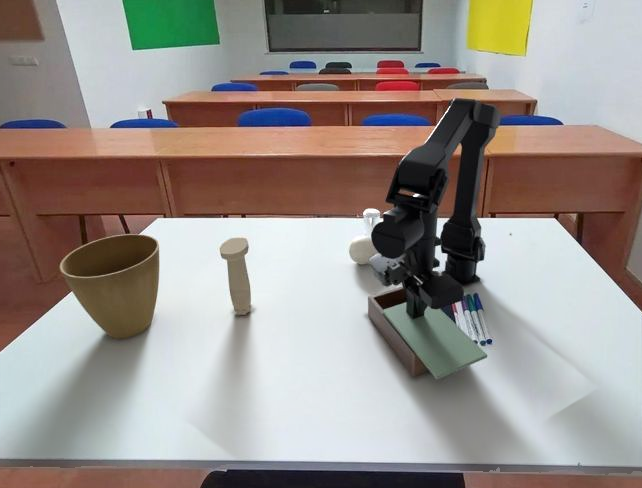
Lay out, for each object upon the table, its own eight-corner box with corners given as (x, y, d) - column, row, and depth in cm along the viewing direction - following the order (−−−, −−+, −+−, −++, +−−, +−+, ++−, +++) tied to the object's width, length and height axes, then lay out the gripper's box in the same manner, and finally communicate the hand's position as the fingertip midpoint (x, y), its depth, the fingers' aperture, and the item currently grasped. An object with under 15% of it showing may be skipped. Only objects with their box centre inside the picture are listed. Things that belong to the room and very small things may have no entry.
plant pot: (63, 342, 71) (37, 266, 66) (135, 295, 84) (119, 228, 79) (124, 364, 66) (101, 284, 61) (190, 311, 79) (177, 240, 74)
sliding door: (426, 298, 76) (427, 273, 74) (487, 357, 62) (491, 328, 60) (382, 312, 72) (382, 286, 70) (436, 379, 58) (439, 349, 56)
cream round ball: (369, 272, 93) (369, 247, 90) (344, 264, 96) (343, 239, 94) (383, 260, 98) (384, 236, 96) (359, 252, 102) (359, 229, 99)
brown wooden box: (410, 301, 82) (411, 283, 81) (462, 356, 68) (464, 335, 67) (367, 315, 78) (367, 296, 77) (413, 376, 64) (414, 354, 62)
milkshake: (381, 245, 105) (381, 211, 102) (361, 243, 106) (361, 209, 103) (384, 237, 109) (384, 204, 106) (365, 235, 110) (365, 203, 107)
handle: (258, 301, 83) (250, 237, 77) (251, 321, 77) (242, 253, 71) (235, 301, 82) (226, 237, 77) (226, 322, 76) (215, 254, 71)
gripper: (351, 219, 70) (353, 293, 75) (406, 271, 54) (403, 360, 59) (405, 208, 74) (403, 278, 80) (470, 253, 59) (462, 337, 64)
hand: (415, 309), depth 71 cm, fingers closed on sliding door, 2 cm apart
